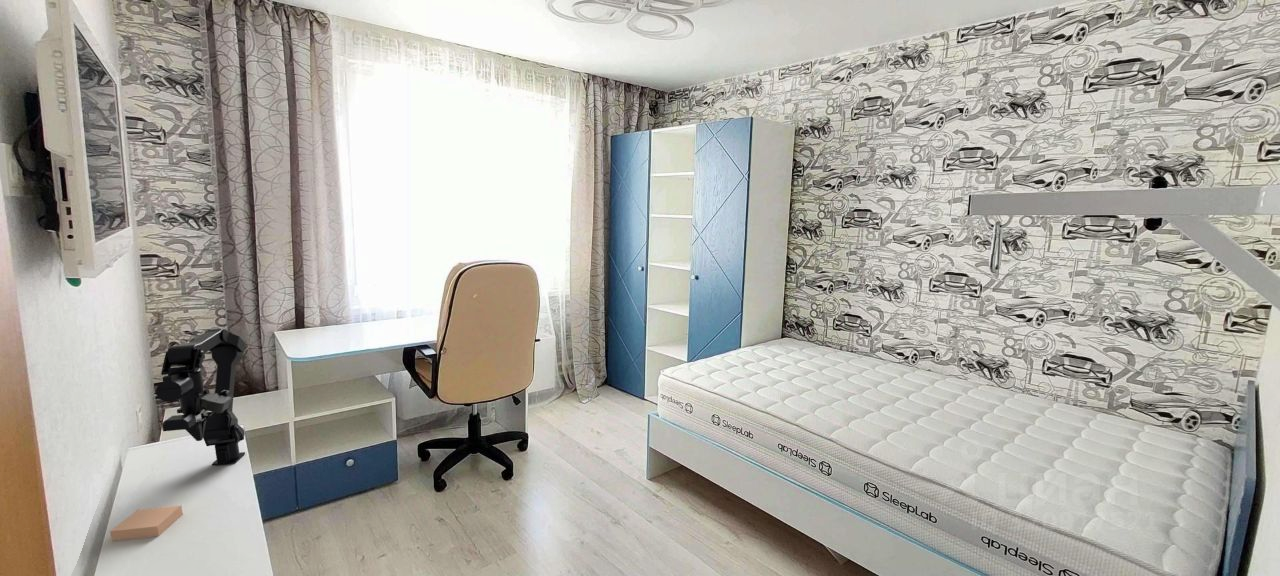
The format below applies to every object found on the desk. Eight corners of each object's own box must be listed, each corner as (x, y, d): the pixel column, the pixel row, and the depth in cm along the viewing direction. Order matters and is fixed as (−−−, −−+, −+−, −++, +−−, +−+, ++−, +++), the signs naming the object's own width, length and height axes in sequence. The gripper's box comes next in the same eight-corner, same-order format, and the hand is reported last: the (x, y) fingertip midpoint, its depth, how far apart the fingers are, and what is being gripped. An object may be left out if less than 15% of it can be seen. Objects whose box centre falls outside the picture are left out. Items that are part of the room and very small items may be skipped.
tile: (137, 509, 137) (109, 531, 129) (181, 505, 139) (157, 526, 130) (139, 520, 138) (112, 542, 129) (183, 515, 140) (159, 537, 131)
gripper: (204, 398, 143) (213, 452, 145) (240, 375, 161) (247, 423, 163) (155, 402, 140) (166, 457, 143) (197, 378, 158) (206, 427, 161)
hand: (199, 440), depth 153 cm, fingers closed
